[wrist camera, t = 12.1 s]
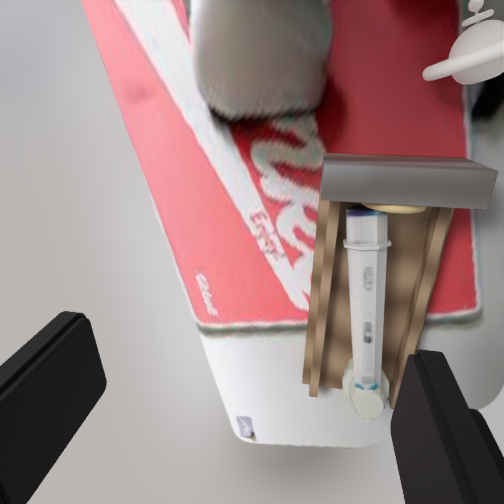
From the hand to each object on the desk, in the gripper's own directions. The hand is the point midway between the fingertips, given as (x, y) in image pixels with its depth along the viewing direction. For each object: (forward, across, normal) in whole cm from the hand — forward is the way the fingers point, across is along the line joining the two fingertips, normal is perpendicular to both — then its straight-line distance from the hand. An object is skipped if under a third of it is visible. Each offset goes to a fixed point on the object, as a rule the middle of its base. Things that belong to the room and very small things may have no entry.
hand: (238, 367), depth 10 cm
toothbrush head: (+27, -9, +16) cm, 32 cm away
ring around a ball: (+29, -13, -10) cm, 33 cm away
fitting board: (+28, -9, +14) cm, 32 cm away
